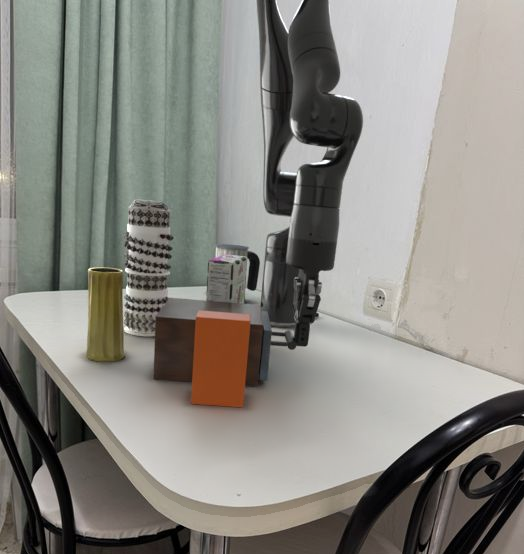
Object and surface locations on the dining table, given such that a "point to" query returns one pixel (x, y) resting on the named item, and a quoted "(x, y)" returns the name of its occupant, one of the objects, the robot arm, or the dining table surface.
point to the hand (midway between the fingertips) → (300, 345)
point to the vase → (105, 315)
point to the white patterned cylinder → (146, 265)
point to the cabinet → (181, 334)
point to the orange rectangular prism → (220, 358)
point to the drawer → (271, 344)
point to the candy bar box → (227, 279)
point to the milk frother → (253, 258)
